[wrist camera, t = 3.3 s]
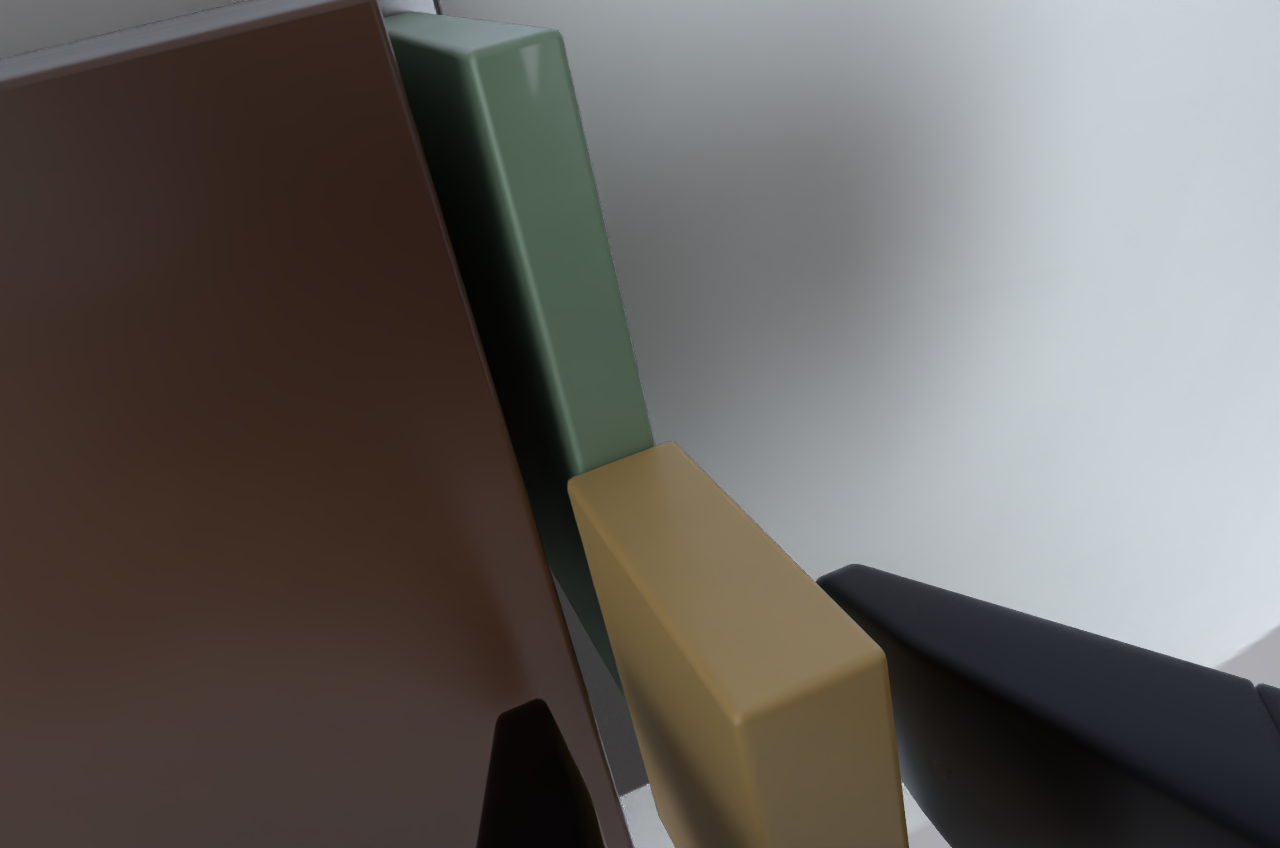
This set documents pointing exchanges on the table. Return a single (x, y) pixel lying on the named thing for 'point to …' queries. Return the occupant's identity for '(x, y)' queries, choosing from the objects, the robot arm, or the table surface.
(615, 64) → the table surface
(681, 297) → the table surface
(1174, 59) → the table surface
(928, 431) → the table surface
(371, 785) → the cabinet
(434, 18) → the door
